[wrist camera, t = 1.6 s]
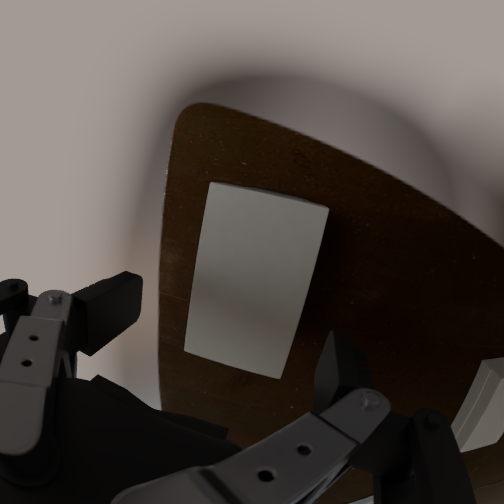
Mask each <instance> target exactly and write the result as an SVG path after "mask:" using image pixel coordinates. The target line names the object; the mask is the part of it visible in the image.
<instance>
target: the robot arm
mask: <svg viewBox="0 0 504 504" xmlns="http://www.w3.org/2000/svg"><path fill="white" fill-rule="evenodd" d="M142 286H143V279H142V277H141V276H139V275H137V274H133V273H131V272H128V271H124V272H122V273H120V274H118V275H116V276H113V277H111V278H108V279H103V280H101V281H98V282H96V283H95V284H92V285H90V286H89V287H85V288H83V289H81V290H79V291H77V292H75V293H72V294H69V293H67V292H64V291H61V290H49V291H45V292H43V293H41V294H40V295H39V297H35V296H32V295H29V294H28V284H27V283H26V282H25V281H23V280H21V279H8V280H4V281H2V282H0V315H2V314H3V320H4V325H5V330H6V332H4V333H2V334H1V335H0V504H311V503H313V502H314V501H315V500H316V499H317V498H318V497H319V496H320V495H321V494H322V493H323V492H325V491H326V490H327V489H328V488H329V487H330V486H331V485H332V484H333V483H334V482H335V481H336V480H338V479H339V478H340V477H341V476H342V475H343V474H344V473H345V472H346V471H347V470H348V469H349V468H350V467H351V466H353V467H356V468H359V469H361V470H364V471H367V472H370V473H373V504H476V500H475V496H474V493H473V489H472V486H471V483H470V479H469V476H468V473H467V470H466V467H465V464H464V461H463V458H462V455H461V452H460V450H459V447H458V444H457V441H456V439H455V436H454V434H453V431H452V428H451V426H450V423H449V421H448V420H447V418H446V417H445V416H444V415H442V414H441V413H439V412H438V411H435V410H433V409H428V408H423V409H419V410H417V411H416V412H415V414H414V415H413V417H412V418H409V417H406V416H403V415H400V414H397V413H394V412H392V411H390V410H391V404H390V402H389V400H388V399H387V398H386V397H385V396H384V395H383V394H382V393H380V392H378V391H376V390H375V388H374V384H373V380H372V377H371V373H370V372H369V371H370V370H369V366H368V363H367V359H366V356H365V355H364V354H363V353H362V352H361V351H360V349H359V348H354V347H352V342H351V338H350V335H349V334H346V333H342V332H337V331H333V330H331V331H330V333H329V335H328V337H327V340H326V343H325V345H324V348H323V351H322V353H321V356H320V359H319V361H318V364H317V367H316V371H315V377H314V411H310V412H308V413H307V414H305V415H303V416H302V417H300V418H299V419H297V420H296V421H294V422H292V423H291V424H289V425H287V426H286V427H284V428H282V429H281V430H279V431H277V432H276V433H274V434H272V435H270V436H269V437H267V438H265V439H263V440H261V441H260V442H258V443H256V444H254V445H252V446H250V447H248V448H246V449H245V450H243V449H242V448H240V447H239V446H238V445H236V444H234V443H233V442H231V441H229V440H227V439H226V437H227V433H228V430H229V429H228V428H225V427H222V426H219V425H215V424H212V423H209V422H206V421H203V420H200V419H198V418H195V417H191V416H186V415H180V414H175V413H170V412H165V411H160V410H156V409H153V408H151V407H150V406H148V405H147V404H145V403H144V402H142V401H141V400H140V399H139V398H137V397H136V396H135V395H133V394H132V393H131V392H129V391H128V390H127V389H125V388H123V387H121V386H119V385H117V384H115V383H113V382H111V381H109V380H108V379H106V378H104V377H102V376H100V375H96V376H95V377H94V378H93V379H92V380H91V381H88V380H83V379H78V378H76V372H77V352H78V351H81V352H83V353H85V354H86V355H88V356H92V355H93V354H95V353H96V352H97V351H99V350H100V349H101V348H102V347H104V346H105V345H106V344H108V343H109V342H110V341H112V340H113V339H114V338H115V337H117V336H118V335H119V334H121V333H122V332H123V331H125V330H126V329H127V328H128V327H130V326H131V325H132V324H134V323H135V322H136V321H137V319H138V318H139V316H140V312H141V301H142V288H143V287H142Z"/></svg>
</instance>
